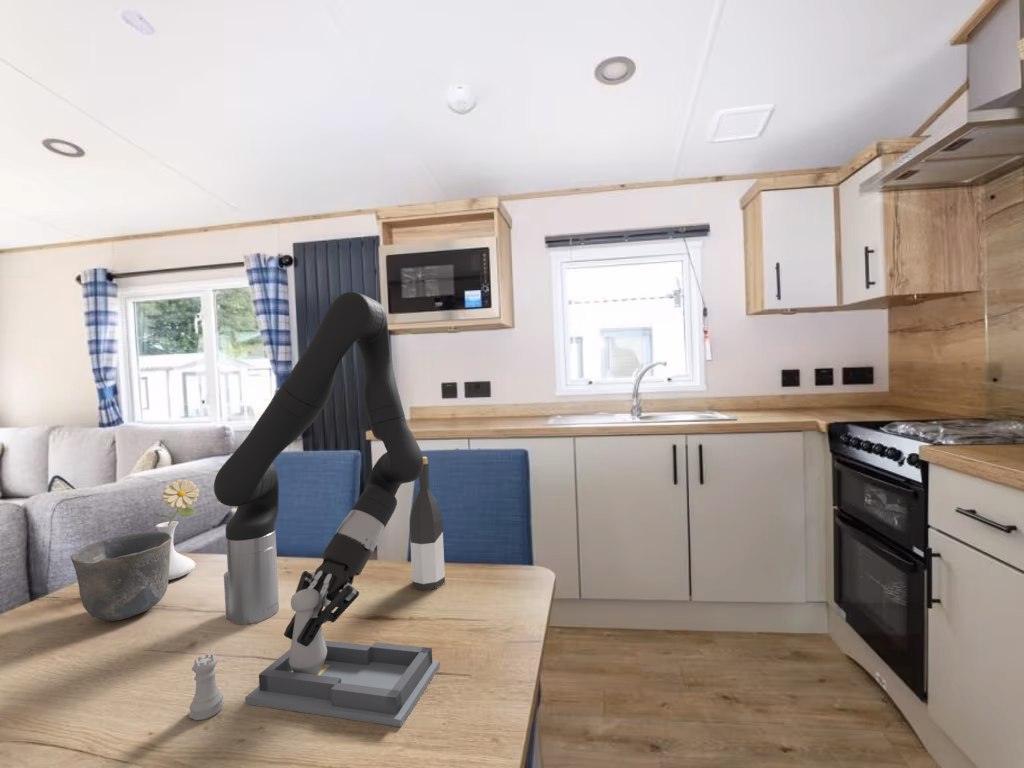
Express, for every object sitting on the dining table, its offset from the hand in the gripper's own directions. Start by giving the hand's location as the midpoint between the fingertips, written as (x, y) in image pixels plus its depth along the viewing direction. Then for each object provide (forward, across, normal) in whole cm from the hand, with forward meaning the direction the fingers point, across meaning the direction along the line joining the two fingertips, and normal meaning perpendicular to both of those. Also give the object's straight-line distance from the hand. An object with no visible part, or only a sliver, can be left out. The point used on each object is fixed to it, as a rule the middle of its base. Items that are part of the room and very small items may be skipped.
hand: (295, 640), depth 76 cm
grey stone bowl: (+9, -58, +2) cm, 58 cm away
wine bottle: (-22, -8, +33) cm, 40 cm away
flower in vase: (-1, -71, +12) cm, 72 cm away
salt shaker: (+3, 0, +6) cm, 6 cm away
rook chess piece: (+13, -6, -2) cm, 14 cm away
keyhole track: (+2, +7, +8) cm, 11 cm away
